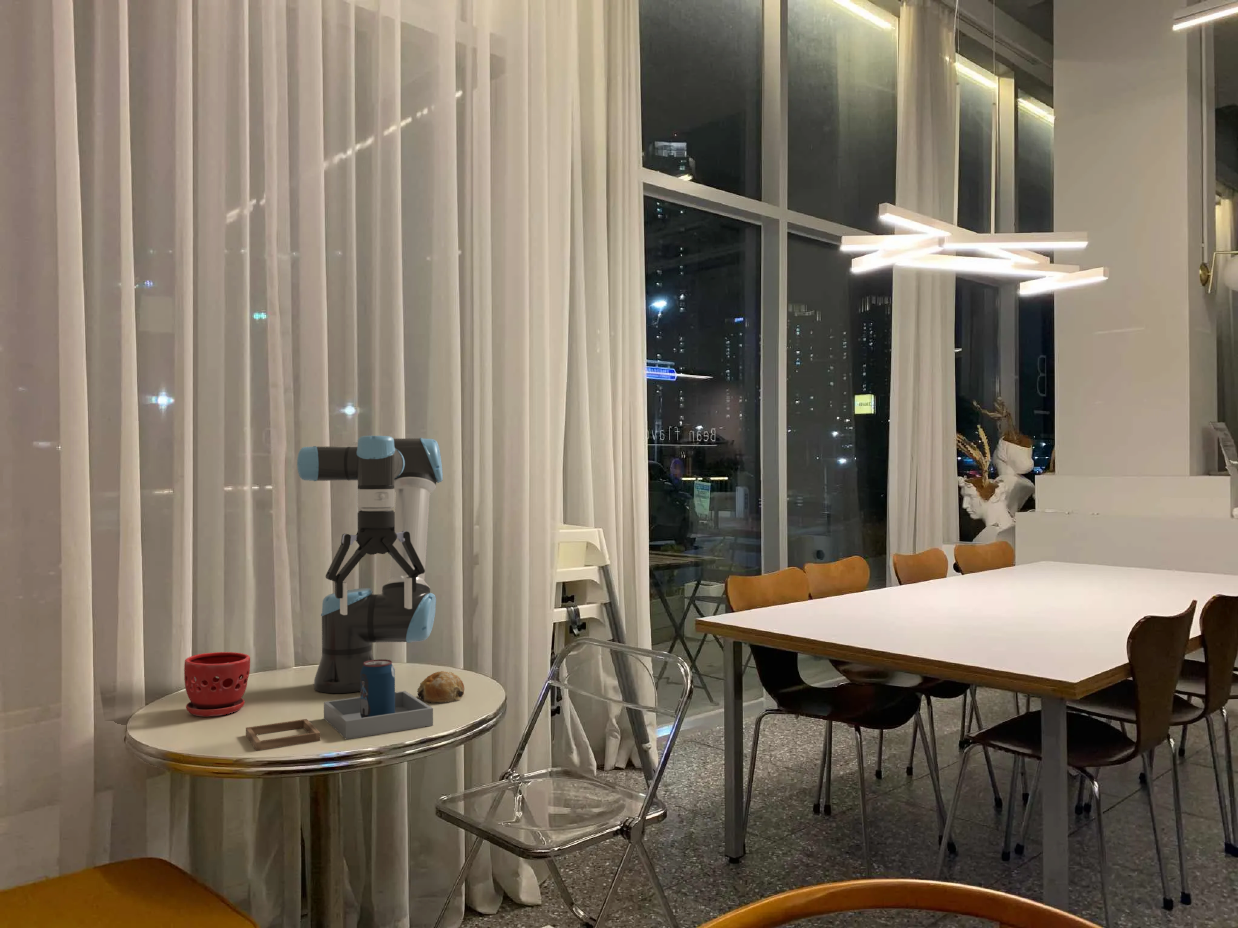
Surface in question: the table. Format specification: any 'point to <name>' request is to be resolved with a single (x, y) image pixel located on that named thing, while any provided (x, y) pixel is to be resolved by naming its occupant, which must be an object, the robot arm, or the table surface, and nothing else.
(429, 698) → the bread roll
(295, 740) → the walnut frame
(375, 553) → the robot arm
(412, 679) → the table surface
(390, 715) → the grey bin
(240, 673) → the plant pot
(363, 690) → the soda can
